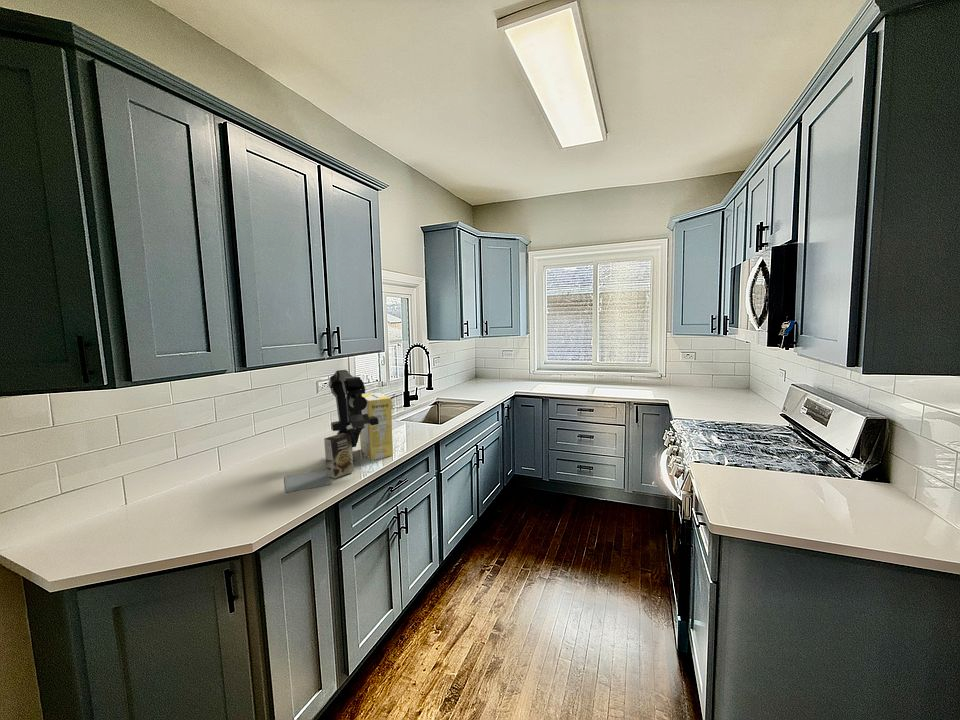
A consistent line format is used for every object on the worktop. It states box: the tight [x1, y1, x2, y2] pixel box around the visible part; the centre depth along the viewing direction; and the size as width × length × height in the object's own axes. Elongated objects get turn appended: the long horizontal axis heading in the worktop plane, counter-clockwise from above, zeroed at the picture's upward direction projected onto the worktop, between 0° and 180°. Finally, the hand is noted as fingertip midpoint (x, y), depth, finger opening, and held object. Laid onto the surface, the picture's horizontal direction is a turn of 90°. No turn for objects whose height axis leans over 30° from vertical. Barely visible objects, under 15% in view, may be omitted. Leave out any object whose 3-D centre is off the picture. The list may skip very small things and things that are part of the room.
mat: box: [284, 468, 332, 494], centre depth 162 cm, size 18×16×1 cm
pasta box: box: [359, 392, 394, 461], centre depth 194 cm, size 18×10×28 cm, turn 31°
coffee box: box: [323, 433, 354, 479], centre depth 166 cm, size 9×6×16 cm
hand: (356, 443), depth 169 cm, fingers closed
